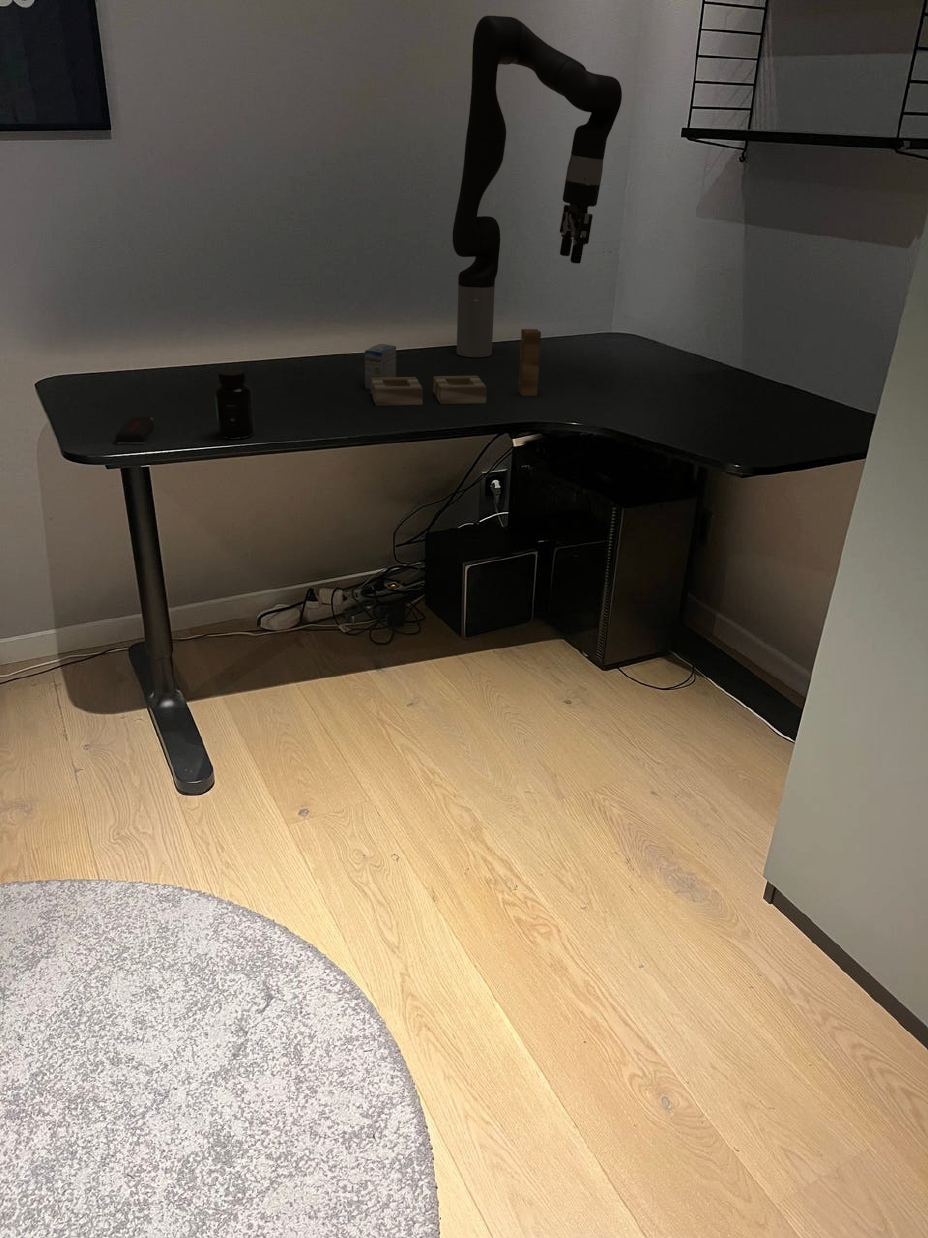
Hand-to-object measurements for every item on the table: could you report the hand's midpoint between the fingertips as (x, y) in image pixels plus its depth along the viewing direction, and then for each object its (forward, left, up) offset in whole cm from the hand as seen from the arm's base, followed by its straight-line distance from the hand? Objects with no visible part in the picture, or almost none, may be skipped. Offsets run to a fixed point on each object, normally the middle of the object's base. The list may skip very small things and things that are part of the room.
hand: (569, 259), depth 217 cm
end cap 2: (+10, -26, -28) cm, 40 cm away
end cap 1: (+10, -40, -28) cm, 50 cm away
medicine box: (-1, -42, -28) cm, 51 cm away
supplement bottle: (+33, -74, -28) cm, 86 cm away
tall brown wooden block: (+9, -10, -28) cm, 31 cm away
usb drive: (+31, -93, -28) cm, 102 cm away
